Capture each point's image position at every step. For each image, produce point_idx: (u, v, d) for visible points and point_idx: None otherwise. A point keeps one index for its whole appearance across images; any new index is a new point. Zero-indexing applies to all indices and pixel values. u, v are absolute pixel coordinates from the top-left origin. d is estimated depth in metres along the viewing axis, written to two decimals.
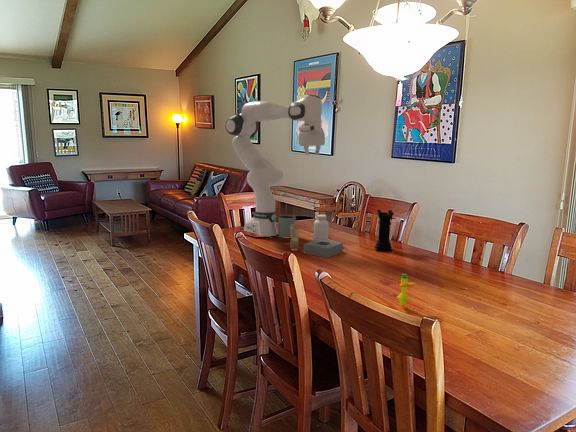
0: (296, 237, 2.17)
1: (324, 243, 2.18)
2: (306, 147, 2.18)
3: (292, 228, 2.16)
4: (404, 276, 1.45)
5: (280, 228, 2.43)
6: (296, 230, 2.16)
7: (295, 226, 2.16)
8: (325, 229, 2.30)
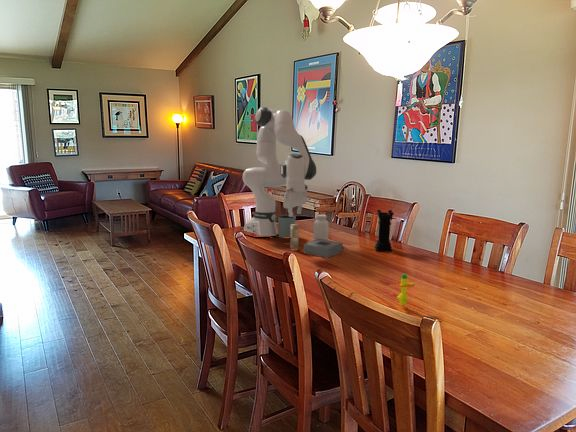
0: (296, 237, 2.17)
1: (324, 243, 2.18)
2: None
3: (292, 228, 2.16)
4: (404, 276, 1.45)
5: (280, 228, 2.43)
6: (296, 230, 2.16)
7: (295, 226, 2.16)
8: (325, 229, 2.30)
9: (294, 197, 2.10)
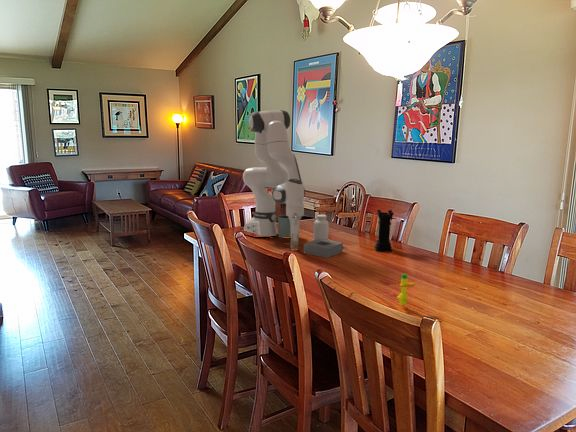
0: None
1: (324, 243, 2.18)
2: None
3: None
4: (404, 276, 1.45)
5: (280, 228, 2.43)
6: None
7: None
8: (325, 229, 2.30)
9: None
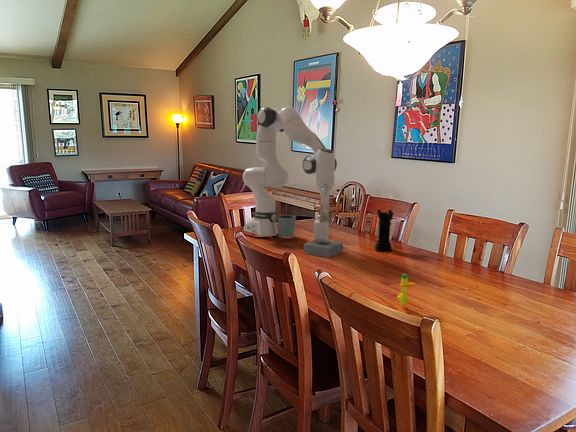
0: None
1: (324, 243, 2.18)
2: None
3: None
4: (404, 276, 1.45)
5: (280, 228, 2.43)
6: None
7: None
8: (325, 229, 2.30)
9: None
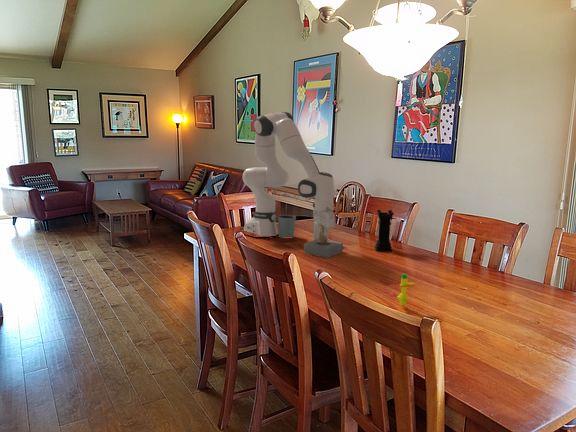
0: None
1: None
2: None
3: None
4: (404, 276, 1.45)
5: (280, 228, 2.43)
6: None
7: None
8: None
9: None
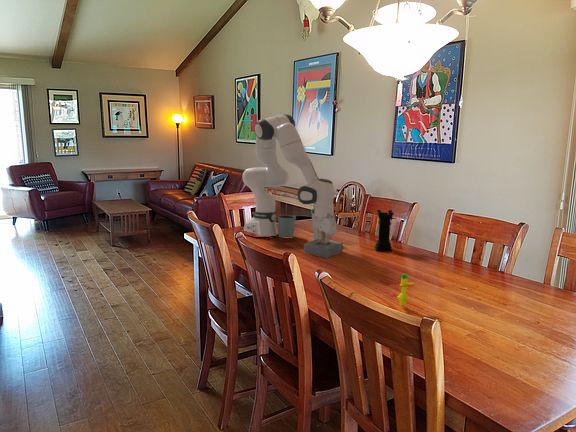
0: None
1: None
2: None
3: None
4: (404, 276, 1.45)
5: (280, 228, 2.43)
6: None
7: None
8: None
9: None
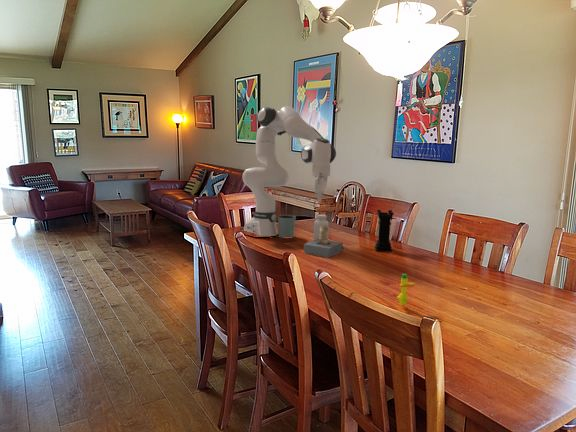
0: (327, 239, 2.14)
1: None
2: None
3: (323, 230, 2.12)
4: (404, 276, 1.45)
5: (280, 228, 2.43)
6: (326, 232, 2.13)
7: (326, 228, 2.12)
8: None
9: None
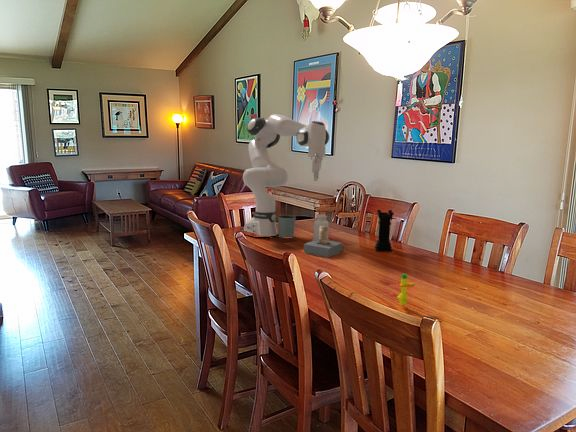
0: (326, 239, 2.14)
1: None
2: None
3: (322, 230, 2.12)
4: (404, 276, 1.45)
5: (280, 228, 2.43)
6: (326, 232, 2.13)
7: (325, 228, 2.12)
8: None
9: None
